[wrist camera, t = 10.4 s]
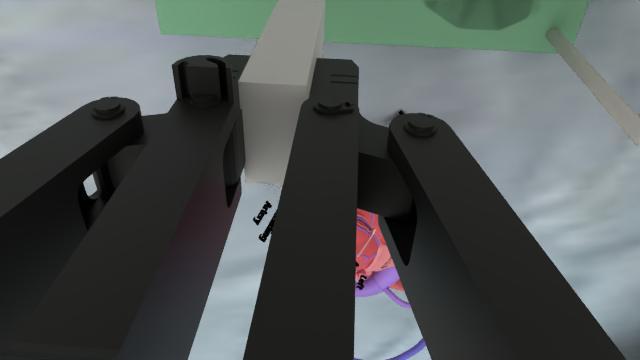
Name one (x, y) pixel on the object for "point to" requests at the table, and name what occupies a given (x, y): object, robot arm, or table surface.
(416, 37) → the green
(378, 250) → the heart model
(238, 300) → the table surface
